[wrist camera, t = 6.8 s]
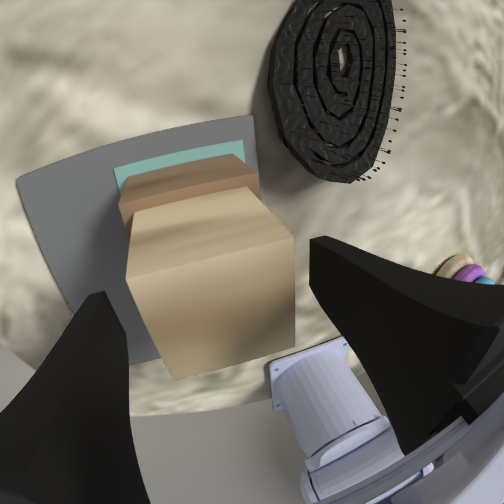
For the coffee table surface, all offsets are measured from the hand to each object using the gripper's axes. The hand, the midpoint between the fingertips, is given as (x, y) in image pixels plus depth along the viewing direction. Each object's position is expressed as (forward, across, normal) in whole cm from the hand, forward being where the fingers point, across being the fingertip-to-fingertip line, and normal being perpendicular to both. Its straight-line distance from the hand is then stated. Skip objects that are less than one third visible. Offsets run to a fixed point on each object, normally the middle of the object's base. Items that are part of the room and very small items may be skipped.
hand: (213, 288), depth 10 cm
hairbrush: (+8, -12, -13) cm, 19 cm away
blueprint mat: (+7, +2, +3) cm, 8 cm away
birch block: (+3, 0, 0) cm, 3 cm away
